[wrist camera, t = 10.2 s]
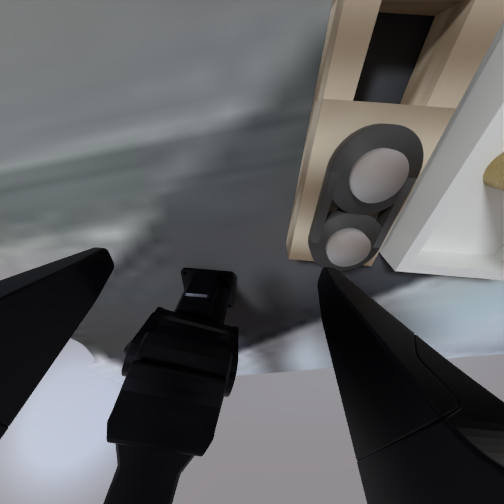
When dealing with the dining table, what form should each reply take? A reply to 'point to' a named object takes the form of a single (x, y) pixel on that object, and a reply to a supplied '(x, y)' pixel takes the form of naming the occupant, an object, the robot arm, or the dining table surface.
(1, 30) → the dining table surface
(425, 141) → the plate
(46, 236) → the dining table surface
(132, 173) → the dining table surface
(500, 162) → the lock pin
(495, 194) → the tray
